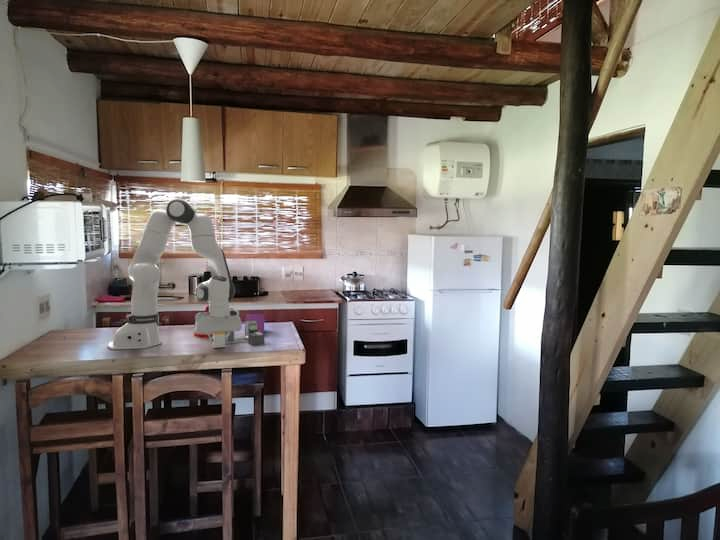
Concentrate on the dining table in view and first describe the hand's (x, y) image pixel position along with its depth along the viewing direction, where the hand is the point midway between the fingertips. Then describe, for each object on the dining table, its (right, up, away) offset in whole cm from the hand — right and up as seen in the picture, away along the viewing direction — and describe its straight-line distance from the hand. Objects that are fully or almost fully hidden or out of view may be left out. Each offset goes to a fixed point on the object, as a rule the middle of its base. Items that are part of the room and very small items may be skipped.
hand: (218, 341), depth 221 cm
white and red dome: (-13, -1, +26) cm, 29 cm away
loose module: (0, -2, 0) cm, 2 cm away
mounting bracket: (+10, -1, +29) cm, 31 cm away
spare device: (+16, -3, +8) cm, 18 cm away
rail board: (+6, -2, +13) cm, 15 cm away
